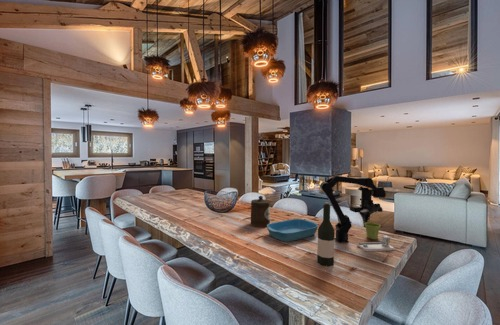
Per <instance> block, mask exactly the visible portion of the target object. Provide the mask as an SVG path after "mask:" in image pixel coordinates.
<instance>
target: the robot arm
mask: <svg viewBox="0 0 500 325" xmlns="http://www.w3.org/2000/svg"><path fill="white" fill-rule="evenodd" d="M338 183H346V184H354V185H359V186H360V187H358V188H357V190H358V191H360V192H361V194H360V196H361V198H359V200H360V204H359V206H358V205H350V206H349V211H351V212H353V213H359V214H360V215H361V217H362V219H363V223H364V224H365V223H368V221H369V218H370V217H371V215H372V214H374V213H381V212H383V210H384V209H383V208H382V206H381V204H380V203H374V200H373V199H372V198H375V199H385V198H386V194H387V193H386V191H385V187H383V186H379V187H378V186H376V185H375V183H374V180H373V179H372V178H371V177H367V176H361V177H352V176H351V177H350V176H344V175H342V176H341V175H336V174H335V175H333V176H332V177H330V178H329V179H327V180H325V181H322V182H321V183H320V184H319V188H320V190H321V191H322V193H323V194H324V195H325V197H326V198H327V199H328V201H329V204H330V206H331V207H332V209H333V210H334V213H335V215H336V217H337V221H338V223H337V224H335V225H334V226H335V229H336V230H335V237H334V241H337V242H338V243H350V241H349V230H351V229H352V223H353V222H352V221H351V219H350V216H348V215H347V214H344V213H343V210H342V208H341V207H340V204H339V203H338V201H337V199H336V197H335V195H334V190H333V187H335V185H337V184H338Z"/></svg>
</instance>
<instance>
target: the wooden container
mask: <svg viewBox="0 0 500 325" xmlns="http://www.w3.org/2000/svg"><path fill="white" fill-rule="evenodd" d="M263 198H264V196H262V195H260V196H258V198H257V199H251V202H250V203H251V204H250V205H251V206H250V226H253V227H255V228H267V225H268V224H270V223H271V200H269V199H263Z"/></svg>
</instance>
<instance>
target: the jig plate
mask: <svg viewBox="0 0 500 325" xmlns="http://www.w3.org/2000/svg"><path fill="white" fill-rule="evenodd" d="M381 242H382V241H371V242H370V241H369V242H358V243H357V244H356V245H357V247H358V248H360V249H361V250H363V251H364V252H379V251H383V252H384V251H395V250H396V247H393V245H390V246H384V245H382V244H381Z"/></svg>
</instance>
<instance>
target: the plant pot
mask: <svg viewBox="0 0 500 325" xmlns="http://www.w3.org/2000/svg"><path fill="white" fill-rule="evenodd" d="M364 226H365V232H366V238H367V239H372V240H377V239H378V237H379V231H380V228H381V224H379V223H375V222H367V223H365V222H364Z"/></svg>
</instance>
